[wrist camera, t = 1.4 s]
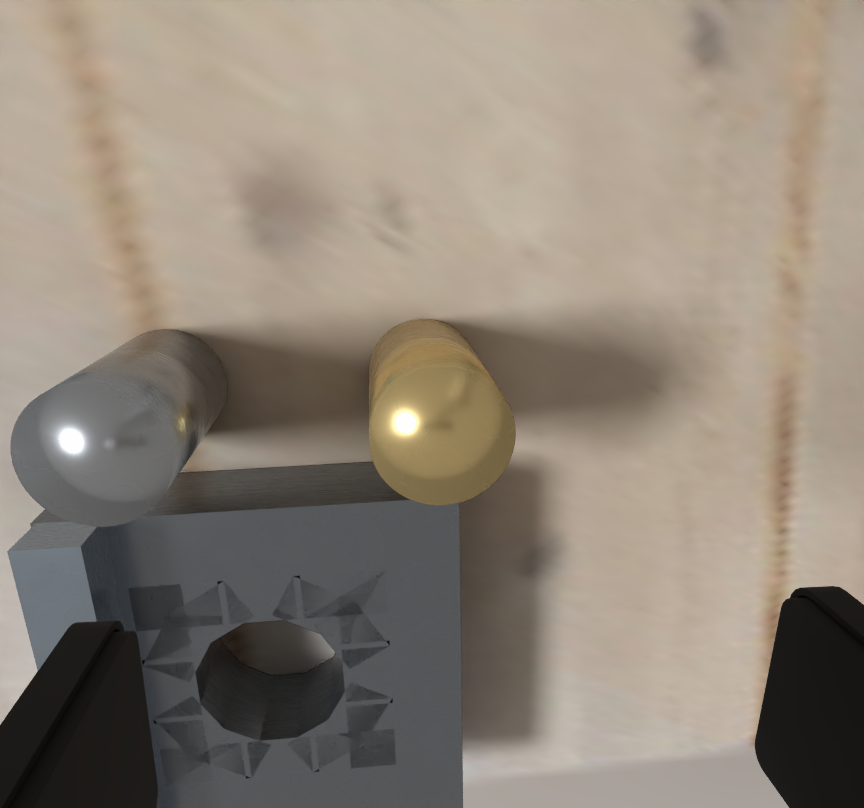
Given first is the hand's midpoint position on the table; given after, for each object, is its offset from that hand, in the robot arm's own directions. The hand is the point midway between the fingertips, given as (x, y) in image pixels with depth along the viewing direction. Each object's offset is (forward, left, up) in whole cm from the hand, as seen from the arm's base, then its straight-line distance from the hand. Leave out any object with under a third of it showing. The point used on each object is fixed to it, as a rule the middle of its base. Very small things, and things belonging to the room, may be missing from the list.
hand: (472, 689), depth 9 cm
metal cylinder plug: (+10, 0, -19) cm, 22 cm away
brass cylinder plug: (-1, 0, -19) cm, 19 cm away
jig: (+6, +12, -19) cm, 24 cm away
